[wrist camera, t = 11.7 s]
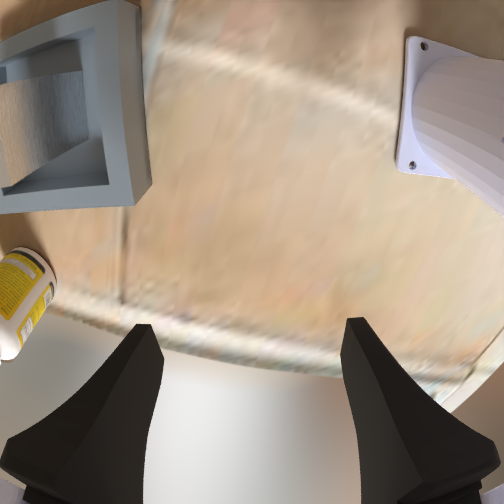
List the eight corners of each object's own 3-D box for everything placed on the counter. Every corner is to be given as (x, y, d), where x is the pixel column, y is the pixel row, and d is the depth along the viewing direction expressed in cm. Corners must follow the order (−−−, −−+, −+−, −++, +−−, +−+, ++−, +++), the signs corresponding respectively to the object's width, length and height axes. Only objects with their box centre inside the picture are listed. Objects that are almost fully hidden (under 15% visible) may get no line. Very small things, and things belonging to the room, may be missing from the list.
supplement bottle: (0, 248, 20) (-67, 326, 12) (41, 240, 20) (-35, 332, 11) (26, 299, 23) (-26, 380, 15) (68, 297, 23) (15, 393, 14)
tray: (140, 7, 12) (118, -3, 9) (152, 184, 17) (134, 205, 15) (1, 54, 12) (-29, 58, 10) (22, 195, 18) (-3, 214, 15)
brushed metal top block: (83, 70, 13) (-6, 86, 7) (89, 138, 15) (11, 186, 9) (29, 86, 13) (-57, 112, 7) (37, 148, 15) (-41, 195, 9)
